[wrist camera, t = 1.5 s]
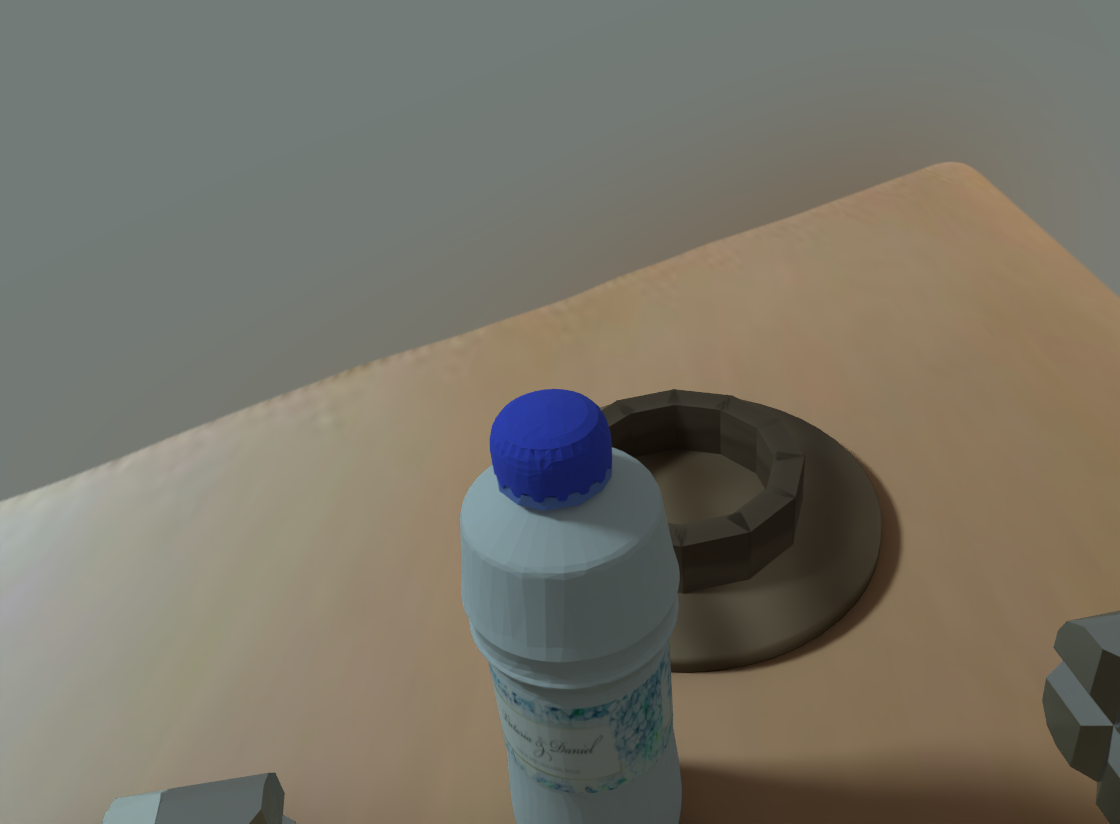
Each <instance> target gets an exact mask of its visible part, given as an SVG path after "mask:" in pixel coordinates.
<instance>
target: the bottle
mask: <svg viewBox="0 0 1120 824" xmlns="http://www.w3.org/2000/svg"><path fill="white" fill-rule="evenodd" d="M490 452H491V458H492V464H493V465H491V466H490V467H489V468H488V469H486V470H485V471H484V472H483V473H482V474H480V476H479V477H478V478H477V479H476V480H475V482H474V483H473V484H472V485H471V486H470V488H469V490H468V492H467V494H466V496H465V498H464V501H463V505H462V509H461V514H460V527H461V557H462V584H461V596H462V602H463V606H464V609H465V611H466V614H467V616H468V618H469V622H470V628H471V633H472V636H473V638H474V641H475V643H476V645H477V647H478V648H479V650H480V651H481V653H482V655H483V656H484V657H485V658H486V659H487V660H488V662H489V666H490V671H491V676H492V681H493V686H494V691H495V695H496V700H497V705H498V710H499V715H500V720H501V725H502V729H503V734H504V739H505V743H506V748H507V756H508V767H509V779H510V790H511V797H512V804H513V811H514V815H515V819H516V822H517V824H679V818H680V812H681V805H682V783H681V774H680V766H679V758H678V753H677V747H676V741H675V735H674V730H673V706H672V686H671V666H670V646H669V638H670V636H671V634H672V632H673V629H674V627H675V624H676V621H677V615H678V607H679V603H678V593H677V592H678V588H679V581H680V571H679V565H678V561H677V558H676V555H675V552H674V549H673V545H672V540H671V536H670V531H669V526H668V522H667V517H666V513H665V508H664V504H663V499H662V495H661V491H660V488H659V485H658V484H657V482H656V480H655V479H654V477H653V476H652V474H651V472H650V471H649V470H648V469H647V468H646V467H645V466H644V465H643V464H642V463H640V462H639V461H638V460H637V459H635V458H633V457H632V456H630V455H628V454H627V453H625V452H623V451H621V450H618V449H615V448H613V447H612V443H611V433H610V429H609V425H608V422H607V419H606V417H605V415H604V413H603V412H602V411H601V410H600V408H599V406H598V405H596V404H595V403H594V402H593V401H591V400H590V399H589V398H588V397H586V396H584V395H582V394H580V393H577V392H574V391H569V390H562V389H548V390H540V391H535V392H531V393H528V394H525V395H523V396H520V397H518V398H516V399H515V400H513V401H511V402H510V403H509V404H507V405H506V406H505V407H504V408H503V410H502V411H501V412H500V413H499V415H498V416H497V417H496V419H495V421H494V423H493V425H492V430H491V435H490Z"/></svg>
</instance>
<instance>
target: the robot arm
mask: <svg viewBox="0 0 1120 824" xmlns="http://www.w3.org/2000/svg"><path fill="white" fill-rule="evenodd" d="M1053 648H1054V649H1055V651H1056V652H1057V653H1058V654H1059V656H1060V657H1061V658H1062V660H1063V661H1062V662H1061V663H1060V664H1059V665H1058V666H1057V667H1056V668H1055V669H1054V670H1053V671H1052V672H1051V673H1050V674H1049V675H1048V676H1047V677H1046V682H1045V687H1044V693H1043V699H1042V702H1043V707H1044V712H1045V718H1046V723H1047V727H1048V729H1049V731H1050V733H1051V735H1052V738H1053V740H1054V742H1055V744H1056V746H1057V748H1058V749H1059V751H1060V752H1061V754H1062V755H1063V757H1064V758H1065V760H1066V761H1067V763H1068V764H1069V766H1070V767H1072V768H1074V769H1075V770H1077V771H1079V772H1081V773H1082V774H1084V775H1086V776H1088V777H1089V778H1091V779H1093V780H1094V781H1096V782H1097V793H1096V805H1097V806H1098V807H1099V809H1100V810H1101V812H1102V813H1103V814H1104V816H1105V817H1106V819H1107V820H1108V822H1109V823H1110V824H1120V611H1115V612H1110V613H1105V614H1100V615H1095V616H1090V617H1085V618H1080V619H1075V620H1070V621H1067V622H1066V623H1065V624H1064V625H1063V626H1062V627H1061V628H1060V629H1059V630H1058V632H1057V636H1056V640H1055V644H1054V647H1053ZM284 794H285V793H284V791H283V789H282V787H281V784H280V782H279V780H278V778H277V776H276V773H265V774H259V775H253V776H247V777H241V778H234V779H228V780H222V781H216V782H210V783H203V784H197V785H191V786H185V787H179V788H172V789H168V790H162V791H156V792H150V793H145V794H139V795H133V796H128V797H122V798H116V799H115V800H114V802H113V803H112V805H111V806H110V808H109V809H108V811H107V813H106V814H105V816H104V819H103V823H102V824H296V822H295V821H293V820H292V819H290V818H288V817H286V816H284V815H283V806H284Z"/></svg>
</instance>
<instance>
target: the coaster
mask: <svg viewBox="0 0 1120 824" xmlns="http://www.w3.org/2000/svg"><path fill="white" fill-rule="evenodd" d="M600 410H601V411H602V412H603V413H604V415H605V417H606V419H607V422H608V425H609V429H610V433H611V443H612V447H613V448H615V449H618V450H621V451H623V452H625V453H627V454H628V455H630V456H632V457H633V458H635V459H637V460H638V461H639V462H640V463H642V464H643V465H644V466H645V467H646V468H647V469H648V470H649V471H650V472H651V474H652V476H653V477H654V479H655V480H656V482H657V484H658V485H659V488H660V491H661V495H662V499H663V504H664V508H665V513H666V517H667V522H668V526H669V531H670V536H671V540H672V545H673V549H674V552H675V555H676V558H677V561H678V565H679V571H680V581H679V588H678V592H677V593H678V603H679V607H678V615H677V621H676V624H675V627H674V629H673V632H672V634H671V636H670V638H669V646H670V666H671V672H701V671H716V670H723V669H728V668H734V667H740V666H746V665H749V664H753V663H756V662H760V661H763V660H767V659H770V658H774V657H776V656H779V655H781V654H783V653H786V652H788V651H791V650H793V649H795V648H798V647H800V646H802V645H803V644H805V643H807V642H809V641H810V640H812V639H814V638H816V637H817V636H819V635H821V634H822V633H824V632H825V631H826V630H827V629H829V628H830V627H831V626H833V625H834V624H835V623H836V622H838V621H839V620H840V619H841V618H842V617H843V616H844V615H845V614H846V613H847V612H848V611H849V610H850V609H851V608H852V607H853V606H854V605H855V604H856V602H857V601H858V600H859V598H860V597H861V595H862V594H863V592H864V591H865V589H866V588H867V586H868V584H869V582H870V580H871V577H872V575H873V573H874V570H875V568H876V564H877V559H878V555H879V550H880V542H881V529H882V516H881V511H880V505H879V500H878V497H877V495H876V492H875V490H874V487H873V485H872V482H871V481H870V479H869V478H868V476H867V474H866V473H865V471H864V469H863V468H862V467H861V465H860V464H859V463H858V462H857V461H856V460H855V458H854V457H853V456H852V455H851V454H850V453H849V452H848V451H847V450H846V449H845V448H844V447H843V446H841V445H840V444H839V443H838V442H837V441H836V440H835V439H833V438H832V437H830V436H829V435H827V434H826V433H824V432H823V431H822V430H820V429H818V428H817V427H815V426H813V425H811V424H809V423H807V422H806V421H804V420H802V419H800V418H797V417H795V416H793V415H790V414H788V413H786V412H783V411H781V410H777V409H774V408H771V407H768V406H765V405H762V404H758V403H753V402H749V401H745V400H740V399H738V398H736V397H734V396H731V395H721V394H712V393H703V392H693V391H684V390H675V389H673V390H669V391H663V392H658V393H653V394H648V395H643V396H638V397H633V398H628V399H623V400H617V401H616V402H614V403H612V404H611V405H607V406H604V407H601V408H600Z"/></svg>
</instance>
